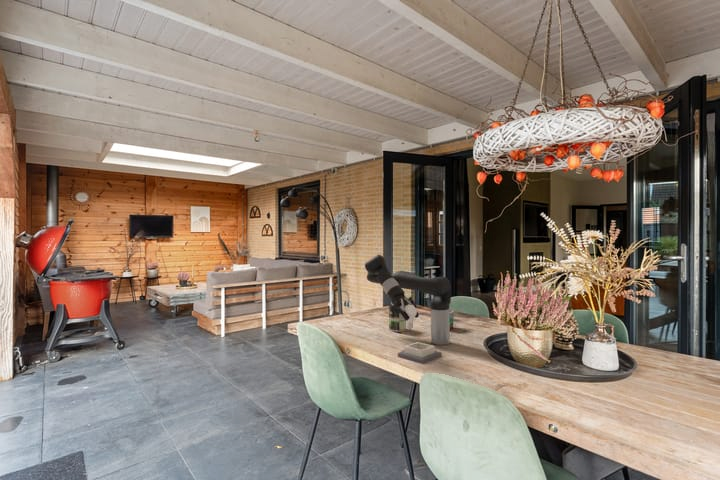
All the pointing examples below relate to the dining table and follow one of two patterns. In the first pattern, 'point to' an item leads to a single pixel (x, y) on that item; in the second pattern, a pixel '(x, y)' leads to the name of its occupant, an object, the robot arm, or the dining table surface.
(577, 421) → the dining table surface
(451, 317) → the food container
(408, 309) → the lightbulb
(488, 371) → the dining table surface
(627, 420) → the dining table surface
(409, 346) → the socket stand
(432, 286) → the robot arm
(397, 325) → the coffee can
